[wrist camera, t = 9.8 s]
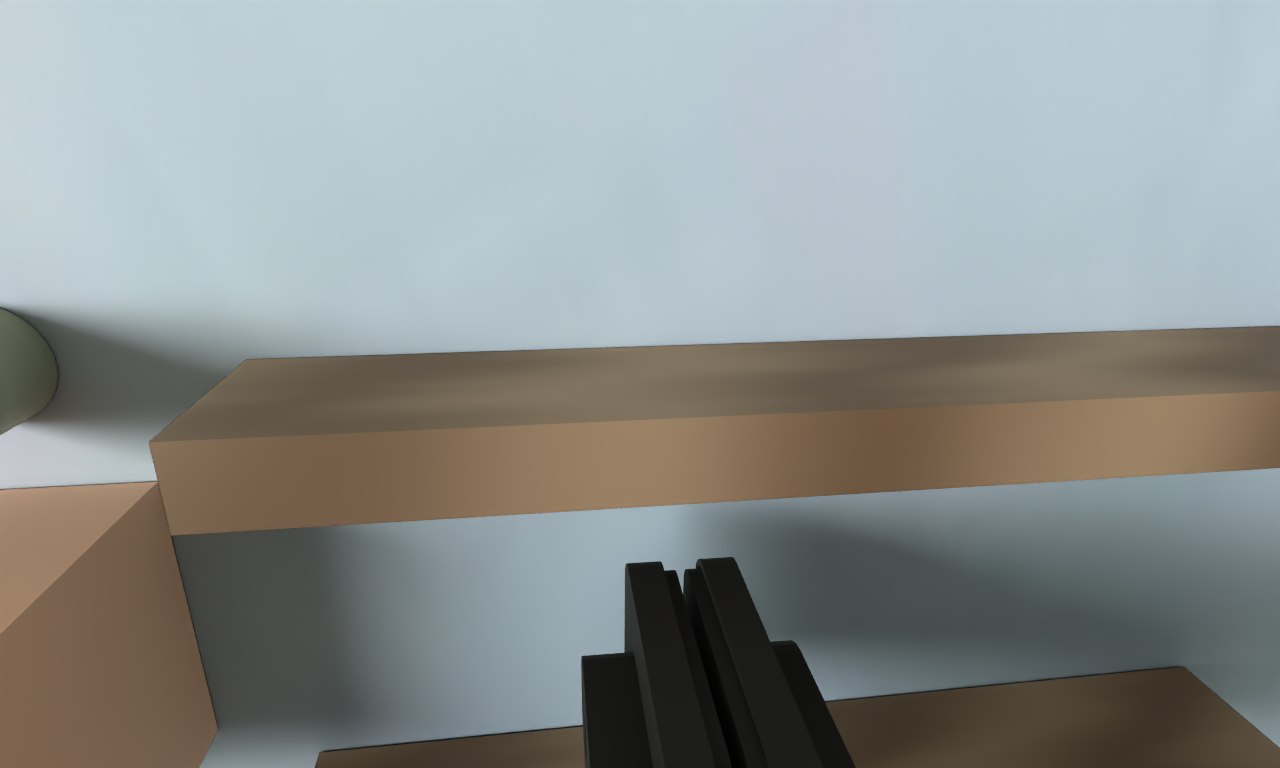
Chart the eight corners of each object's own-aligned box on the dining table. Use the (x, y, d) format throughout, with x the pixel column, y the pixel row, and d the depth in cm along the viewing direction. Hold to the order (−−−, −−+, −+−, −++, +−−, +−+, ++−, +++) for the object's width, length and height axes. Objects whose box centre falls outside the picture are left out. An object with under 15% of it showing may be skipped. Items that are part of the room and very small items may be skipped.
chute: (1312, 273, 13) (1748, 362, 8) (1158, 742, 17) (1400, 984, 12) (-105, 304, 10) (-654, 466, 5) (91, 864, 14) (-136, 1247, 9)
